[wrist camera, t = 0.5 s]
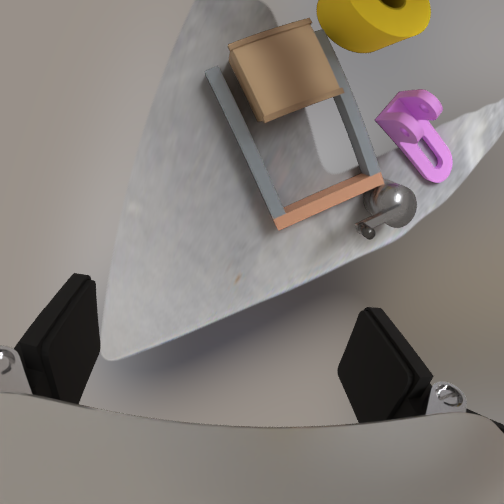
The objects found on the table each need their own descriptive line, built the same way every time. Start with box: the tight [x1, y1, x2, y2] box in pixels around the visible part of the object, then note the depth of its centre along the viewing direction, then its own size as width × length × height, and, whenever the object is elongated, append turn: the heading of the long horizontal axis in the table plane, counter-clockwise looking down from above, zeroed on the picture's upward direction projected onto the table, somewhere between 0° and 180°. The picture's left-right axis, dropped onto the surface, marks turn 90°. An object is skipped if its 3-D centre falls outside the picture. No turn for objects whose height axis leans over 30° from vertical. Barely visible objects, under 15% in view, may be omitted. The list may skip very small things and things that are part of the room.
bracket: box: [375, 89, 452, 183], centre depth 34 cm, size 13×6×7 cm, turn 50°
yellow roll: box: [317, 0, 431, 53], centre depth 26 cm, size 10×10×9 cm
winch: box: [355, 179, 417, 239], centre depth 35 cm, size 9×5×8 cm, turn 114°
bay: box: [205, 29, 384, 230], centre depth 34 cm, size 14×20×2 cm
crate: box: [228, 18, 345, 123], centre depth 29 cm, size 8×8×7 cm
